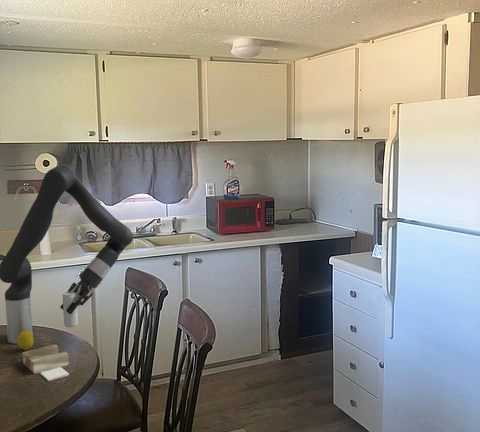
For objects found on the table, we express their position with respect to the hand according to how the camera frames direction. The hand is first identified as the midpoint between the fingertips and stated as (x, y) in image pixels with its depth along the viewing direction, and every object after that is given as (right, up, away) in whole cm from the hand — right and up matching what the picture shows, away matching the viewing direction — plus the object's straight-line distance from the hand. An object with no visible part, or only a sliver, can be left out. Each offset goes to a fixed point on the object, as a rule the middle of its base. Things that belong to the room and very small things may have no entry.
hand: (65, 310), depth 194 cm
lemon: (-18, -17, +11) cm, 27 cm away
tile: (0, -20, -11) cm, 23 cm away
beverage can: (+2, -6, +2) cm, 6 cm away
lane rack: (-6, -18, -2) cm, 20 cm away
